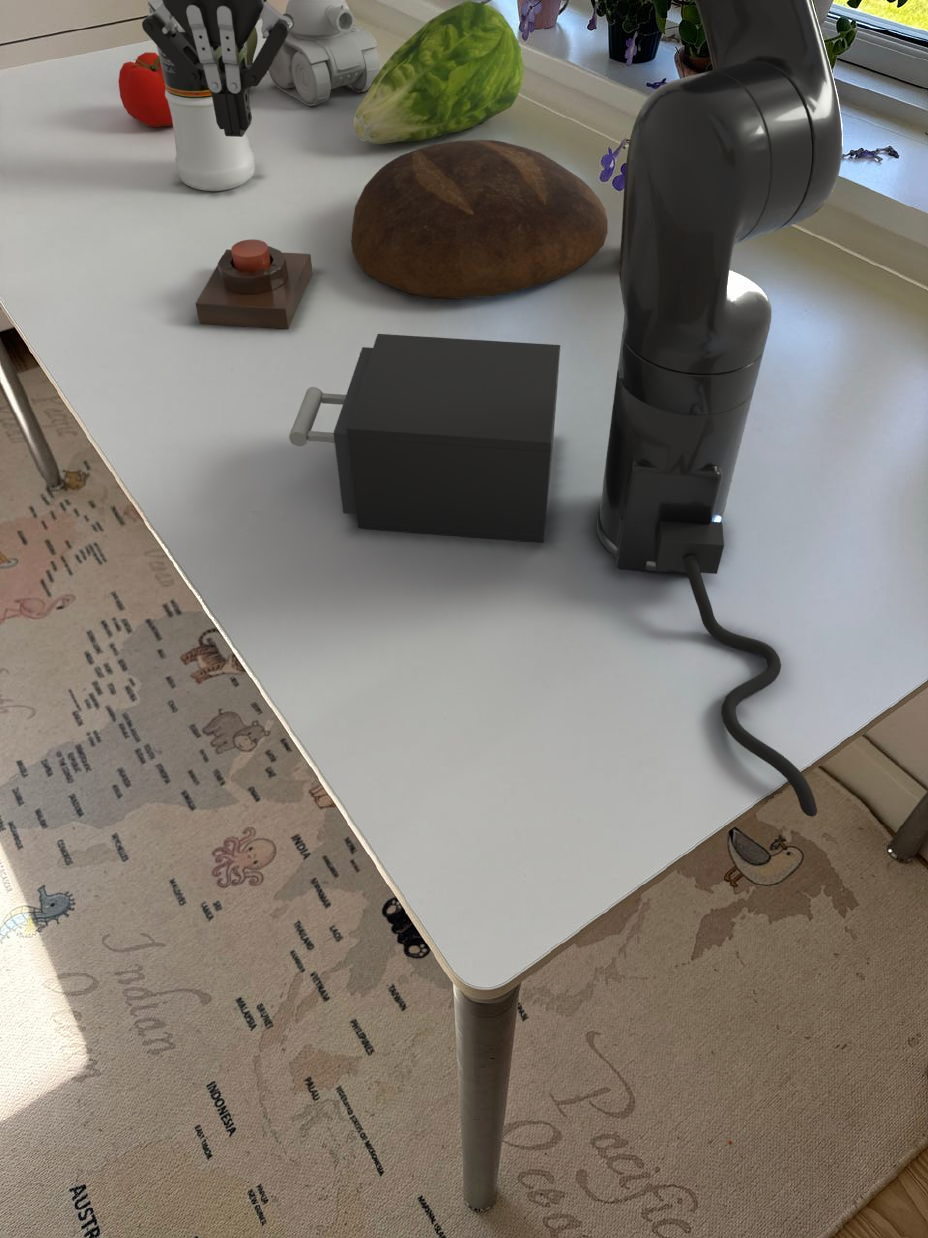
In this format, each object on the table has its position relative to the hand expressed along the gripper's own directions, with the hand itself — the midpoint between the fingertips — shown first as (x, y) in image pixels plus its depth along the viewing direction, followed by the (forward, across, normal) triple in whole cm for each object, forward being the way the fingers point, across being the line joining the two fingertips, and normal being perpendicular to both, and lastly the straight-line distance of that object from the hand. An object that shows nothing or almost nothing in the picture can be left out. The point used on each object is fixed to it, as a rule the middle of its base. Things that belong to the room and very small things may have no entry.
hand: (236, 132), depth 90 cm
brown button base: (+16, -1, +1) cm, 17 cm away
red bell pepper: (+16, -25, +44) cm, 53 cm away
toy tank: (+16, -6, +57) cm, 59 cm away
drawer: (+16, +19, -26) cm, 36 cm away
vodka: (+16, -13, +28) cm, 35 cm away
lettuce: (+16, +11, +44) cm, 48 cm away
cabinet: (+17, +23, -26) cm, 39 cm away
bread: (+17, +20, +15) cm, 30 cm away
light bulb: (+16, -17, +55) cm, 59 cm away
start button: (+13, -1, +1) cm, 13 cm away
